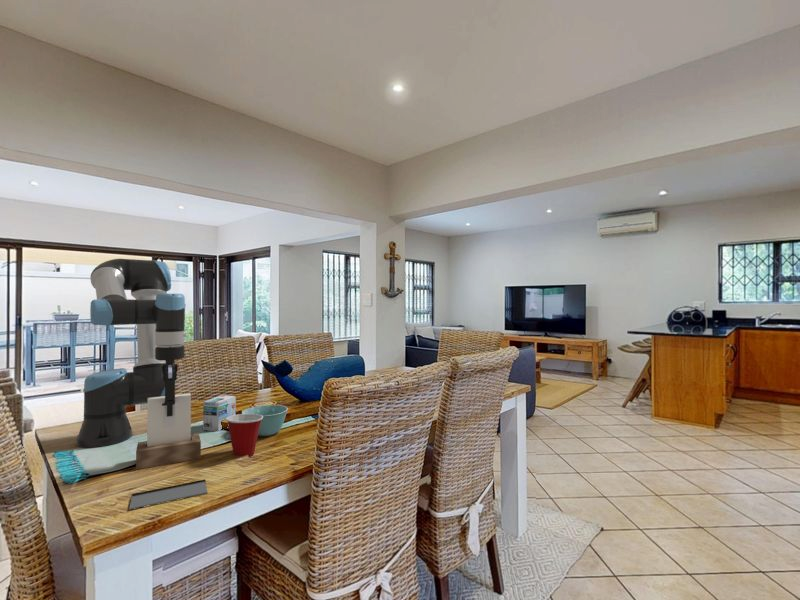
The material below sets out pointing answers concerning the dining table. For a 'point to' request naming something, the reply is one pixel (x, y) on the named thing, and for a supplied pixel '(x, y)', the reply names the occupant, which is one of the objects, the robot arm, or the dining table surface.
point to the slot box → (168, 452)
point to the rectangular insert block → (156, 421)
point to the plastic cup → (244, 433)
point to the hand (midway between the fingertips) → (169, 424)
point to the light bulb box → (217, 411)
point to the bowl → (269, 418)
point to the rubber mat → (168, 494)
